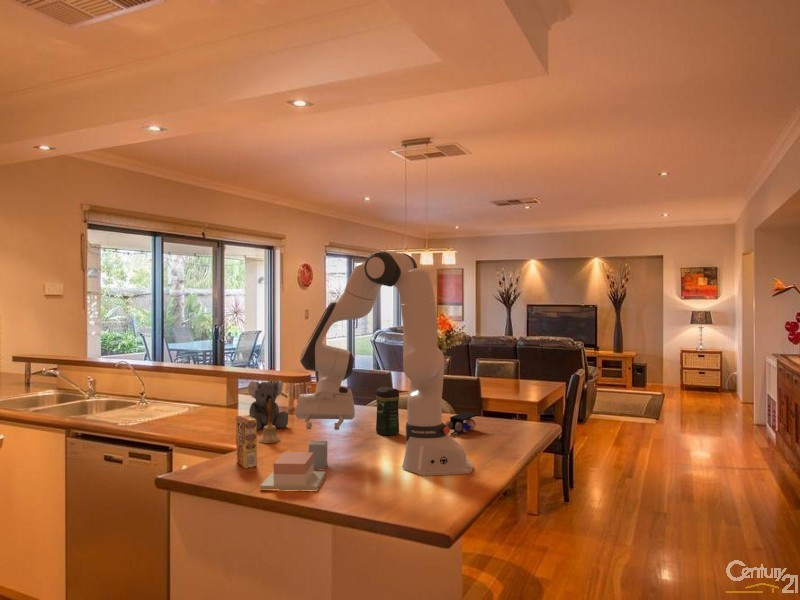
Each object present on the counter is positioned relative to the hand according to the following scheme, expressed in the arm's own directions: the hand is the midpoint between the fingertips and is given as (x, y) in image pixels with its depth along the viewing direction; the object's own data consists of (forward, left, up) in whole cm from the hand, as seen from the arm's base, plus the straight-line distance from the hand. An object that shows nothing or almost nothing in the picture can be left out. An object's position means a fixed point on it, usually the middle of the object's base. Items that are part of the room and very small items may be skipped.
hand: (322, 428), depth 191 cm
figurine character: (-49, -42, -11) cm, 66 cm away
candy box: (+24, +6, -11) cm, 27 cm away
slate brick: (0, +8, -11) cm, 13 cm away
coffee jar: (-19, -39, -11) cm, 45 cm away
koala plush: (+34, -50, -11) cm, 62 cm away
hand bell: (+25, -25, -11) cm, 37 cm away
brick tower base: (+4, +24, -11) cm, 26 cm away
